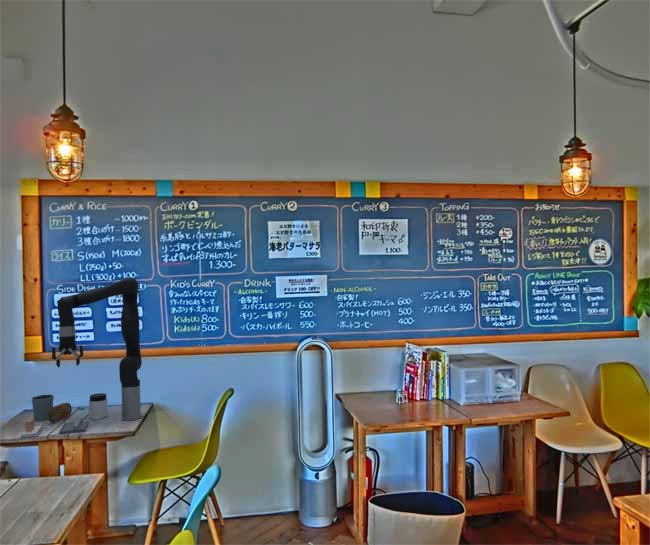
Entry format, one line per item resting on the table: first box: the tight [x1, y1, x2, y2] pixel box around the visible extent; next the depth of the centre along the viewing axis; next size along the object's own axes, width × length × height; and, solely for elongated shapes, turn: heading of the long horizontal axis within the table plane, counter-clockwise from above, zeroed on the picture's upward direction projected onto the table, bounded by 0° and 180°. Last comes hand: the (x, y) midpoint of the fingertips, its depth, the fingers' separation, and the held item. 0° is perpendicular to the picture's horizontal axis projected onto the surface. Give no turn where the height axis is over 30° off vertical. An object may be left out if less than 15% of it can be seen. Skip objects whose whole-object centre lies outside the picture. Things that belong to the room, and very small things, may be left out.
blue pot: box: [31, 394, 54, 422], centre depth 261 cm, size 10×10×12 cm
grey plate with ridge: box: [58, 416, 90, 435], centre depth 243 cm, size 11×15×4 cm
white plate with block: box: [20, 417, 44, 439], centre depth 237 cm, size 7×12×6 cm, turn 19°
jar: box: [88, 392, 108, 420], centre depth 263 cm, size 9×8×12 cm
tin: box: [47, 402, 73, 424], centre depth 259 cm, size 15×3×8 cm, turn 168°
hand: (68, 366), depth 252 cm, fingers open, 8 cm apart
